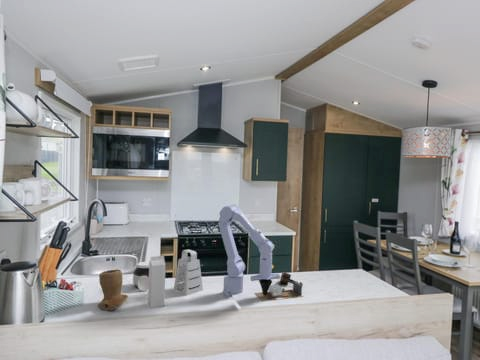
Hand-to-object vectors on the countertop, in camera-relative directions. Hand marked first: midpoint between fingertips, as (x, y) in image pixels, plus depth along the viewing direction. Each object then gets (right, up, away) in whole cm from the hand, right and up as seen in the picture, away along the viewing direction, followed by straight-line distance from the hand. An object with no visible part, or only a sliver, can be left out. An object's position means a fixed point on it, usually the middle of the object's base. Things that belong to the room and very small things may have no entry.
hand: (264, 294), depth 158 cm
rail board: (+7, -2, +3) cm, 8 cm away
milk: (-50, -1, -11) cm, 51 cm away
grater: (-38, -1, +8) cm, 39 cm away
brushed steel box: (+7, -1, +1) cm, 7 cm away
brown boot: (-69, 0, -12) cm, 70 cm away
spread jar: (-61, 0, +10) cm, 62 cm away
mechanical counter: (+15, -2, +19) cm, 24 cm away
